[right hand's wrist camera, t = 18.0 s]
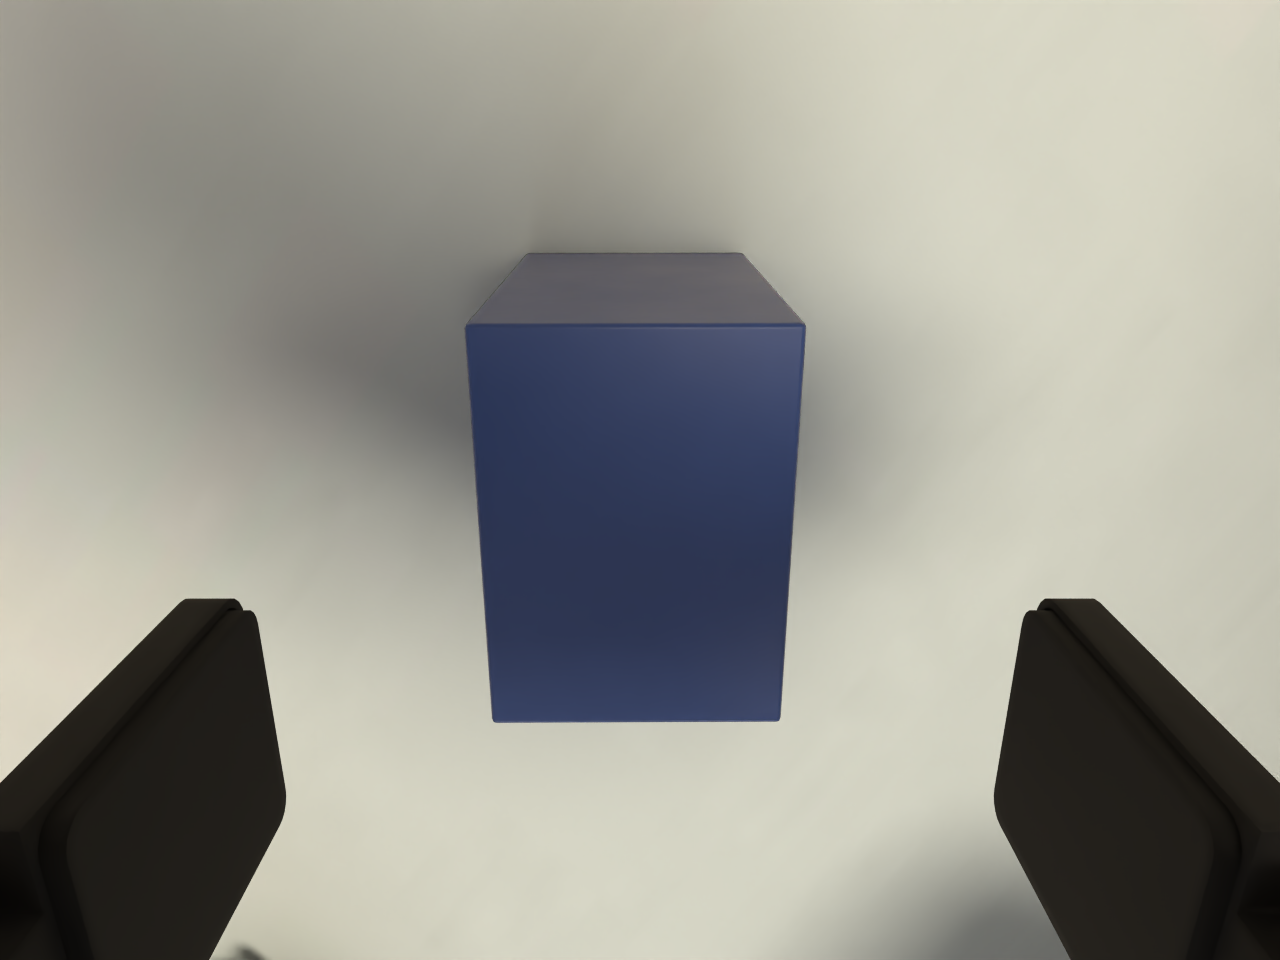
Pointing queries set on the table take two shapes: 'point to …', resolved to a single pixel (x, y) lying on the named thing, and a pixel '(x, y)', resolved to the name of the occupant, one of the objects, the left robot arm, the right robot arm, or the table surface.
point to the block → (635, 486)
